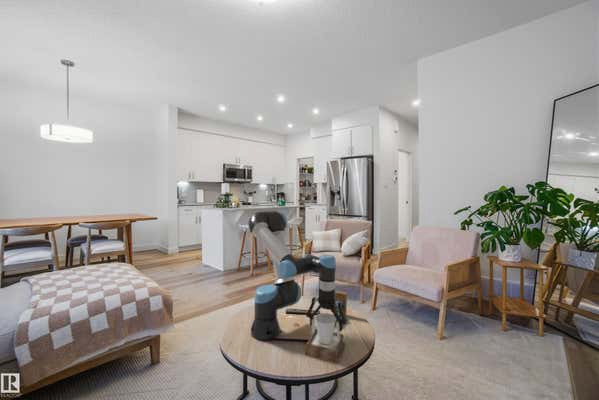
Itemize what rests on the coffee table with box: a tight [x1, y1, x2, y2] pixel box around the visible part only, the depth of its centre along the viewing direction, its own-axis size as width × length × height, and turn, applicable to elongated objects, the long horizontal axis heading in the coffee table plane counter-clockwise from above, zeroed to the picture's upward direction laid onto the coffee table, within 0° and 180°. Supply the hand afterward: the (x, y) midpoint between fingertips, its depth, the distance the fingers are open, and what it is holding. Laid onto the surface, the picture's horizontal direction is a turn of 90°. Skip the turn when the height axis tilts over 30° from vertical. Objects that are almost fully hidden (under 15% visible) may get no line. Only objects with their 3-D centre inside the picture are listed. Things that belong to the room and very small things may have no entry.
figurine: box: [332, 290, 348, 325], centre depth 151 cm, size 14×18×8 cm
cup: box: [314, 312, 336, 345], centre depth 122 cm, size 10×10×11 cm
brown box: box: [303, 328, 346, 364], centre depth 122 cm, size 16×14×5 cm
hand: (325, 334), depth 122 cm, fingers open, 11 cm apart
